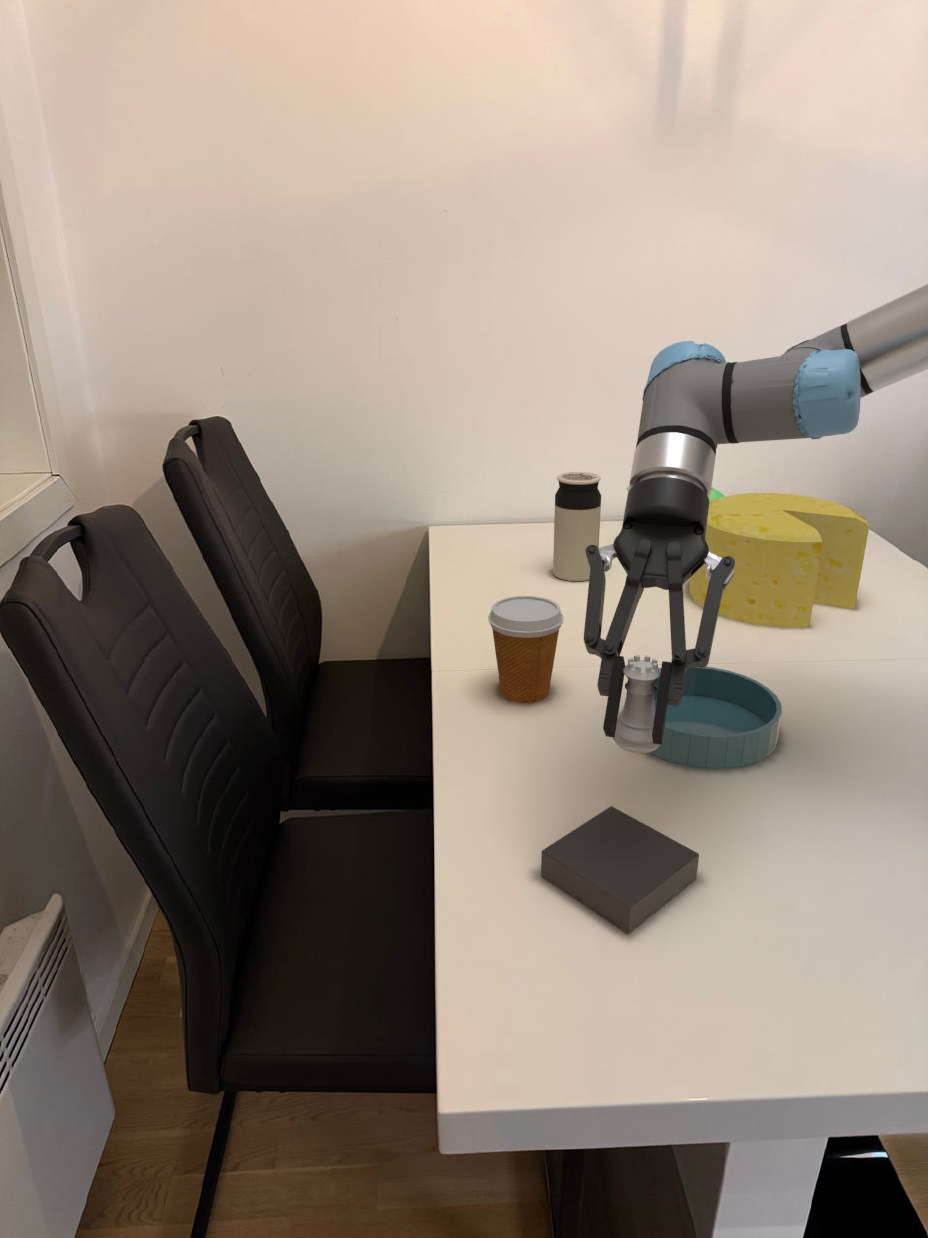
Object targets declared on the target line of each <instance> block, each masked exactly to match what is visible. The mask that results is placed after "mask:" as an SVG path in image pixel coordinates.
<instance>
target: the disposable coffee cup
mask: <svg viewBox="0 0 928 1238" xmlns="http://www.w3.org/2000/svg"><path fill="white" fill-rule="evenodd" d="M490 610H491V611H490V612H489V614H488V615H487V619H488V623H489V625H490V627H491V629H492V635H493V645H494V651H495V657H496V658H495V659H496V665H497V672H498V680H499V687H500V694H501V696H502V697H503V698H504V699H506V700H508V701H510V702H514V703H518V704H534V703H538V702H540V701H543V700H545V699H546V698H547V697H548V696H549V695H550V694H549V693H550V690H551V689H550V688H551V681H552V676H553V669H554V663H555V657H556V651H557V645H558V638H559V634H560V629H561V627H562V624H563V622H564V619H565V618H564V615H563V613H562V612H561V607H560V605H559V604H558V603H557V602H556V601H554V600H552V599H549V598H545V597H542V596H535V595H515V596H509V597H505V598H502V599H500V600H497V601H495V603H494V604H492V607H491V609H490Z"/></svg>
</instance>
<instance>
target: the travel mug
mask: <svg viewBox="0 0 928 1238" xmlns="http://www.w3.org/2000/svg"><path fill="white" fill-rule="evenodd" d="M601 478H602V477H601V476H600V475H598V474H597V473H593V472H585V471H570V472H564V473H560V474H558V475H557V477H556V480H557V481H558V489H557V491H556V492H555V494H554V520H553V521H554V522H553V555H552V556H553V558H552V559H553V561H552V575H553V576H554V577H556V578H559V579H560V580H563V581H567V582H585V581H589V577H590V568H589V564H588V560H587V556H586V548H587V547H588V546H589V545H596V546H597V547H598V548H600V530H601V510H602V494H601V492H600V490H599V483H600V481H601Z"/></svg>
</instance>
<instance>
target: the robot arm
mask: <svg viewBox="0 0 928 1238" xmlns="http://www.w3.org/2000/svg"><path fill="white" fill-rule="evenodd" d="M926 370H928V283H926V284H923V285H922V286H920V287H918V288H915V289H914V290H912V291H909V292H907V293H905V294H903V295H901V296H899V297H897V298H895V299H892V300H890V301H889V302H886V303H884V304H882V305H880V306H878V307H876V308H873V309H872V310H870V311H867V312H865V313H863V314H861V315H860V316H857V317H855V318H853V319H850V320H848V321H847V322H845V323H844V324H841V325H839V326H837V327H836V326H835V327H834V328H833V329H830V330H828V331H825V332H824V333H821V334H819V335H817V336H815V337H812V338H810V339H806V340H803V341H802V342H799V343H797V344H795V345H793V346H791V347H790V348H788V349H787V350H786V351H785V352H784V353H783V354H781V355H780V356H779V355H778V356H772V357H765V358H759V359H758V358H757V359H751V360H746V361H732V362H730V361H728V362H727V360H726V358H725V356H724V354H723V353H722V352H721V350H719V349H718V348H716V347H715V346H714V345H711V344H709V343H705V342H703V343H701V344H699V343H695V341H694V340H683V341H678V342H674V343H672V344H670V345H667V346H665V347H664V348H662V349H661V350H660V351H658V353H657V355H656V356H655V357H654V358H653V360H652V362H651V365H650V368H649V373H648V375H647V380H646V384H645V387H644V388H643V394H642V397H641V398H642V405H641V412H640V420H639V426H638V431H637V439H636V444H635V450H634V454H633V460H632V465H631V470H630V478H629V484H628V486H629V487H630V490H629V492H628V491H627V495H626V501H625V507H624V514H623V519H622V526H621V530H620V531H619V533H618V534H617V536H616V537H615V538H614V540H613V543H610V544H607V545H604V546H601V547H600V546H599V548H598V547H597V546H596V545H589V546H588V547H587V548H586V556H587V560H588V564H589V568H590V577H589V580H588V589H587V599H586V609H585V617H584V618H585V619H584V629H583V643H584V646H585V650H586V652H587V653H588V654H589V655H594V656H597V657H598V658H600V660H601V661H600V666H599V672H598V679H597V682H596V683H597V689H598V693H599V696H602V697H607V701H606V707H605V713H604V719H603V726H602V730H603V732H604V736H605V737H608V738H612V739H613V738H615V731H616V725H617V719H618V717H619V711H620V706H621V705H620V704H621V700H622V693H623V685H624V679H625V674H624V673H623V669H624V668H625V666H626V661H625V656H622V655H621V653H622V650H623V648H624V645H625V642H626V639H627V636H628V633H629V631H630V627H631V625H632V622H633V618H634V616H635V613H636V610H637V608H638V604H639V602H640V599H642V597H643V593H644V591H645V589H650V588H657V589H661V590H664V591H668V605H669V606H668V607H669V608H668V609H669V627H670V645H671V646H670V647H671V660H670V661H664V660H661V661H662V662H661V667H660V668H661V674H660V681H659V688H658V695H657V702H656V710H655V717H654V724H653V731H652V739H653V744H660V745H662V742H663V734H664V727H665V720H666V712H667V705H673V706H679V705H680V703H681V701H682V695H683V687H684V679H685V674H686V672H687V671H688V670H689V669H691V668H695V667H699V668H704V667H708V665H709V662H710V657H711V653H712V647H713V643H714V637H715V633H716V627H717V622H718V618H719V615H718V613H719V609H720V604H721V599H722V594H723V591H724V589H725V588H726V586H727V585H728V583H729V582H730V580H731V579H732V577H733V575H734V567H735V560H734V559H733V558H732V557H730V556H725V557H723V558H721V557H719V556H717V555H715V554H713V553H711V552H709V547H708V544H707V542H706V540H705V535H706V527H707V519H708V511H709V503H710V502H709V498H708V497H709V496H710V495H711V487H712V485H713V479H714V472H715V465H716V456H717V448H718V445H728V444H731V445H732V444H733V445H734V444H740V443H752V442H755V443H756V442H768V441H769V442H770V441H784V440H785V441H786V440H797V439H798V440H801V439H811V440H820V439H822V438H825V437H831V436H839V435H846V434H849V433H852V432H853V431H854V430H855V429H856V428H857V426H858V424H859V421H860V412H861V398H864V397H867V396H868V395H870V394H872V393H874V392H876V391H879V390H881V389H883V388H886V387H889V386H891V385H893V384H895V383H898V382H901V381H903V380H905V379H907V378H911V377H912V376H915V375H917V374H920V373H922V372H924V371H926ZM712 488H713V487H712ZM615 558H616V559H617V560H618V561H619V564H620V566H621V567H622V568H623V570H624V571H625V573H626V576H625V577H626V578H625V583H624V586H623V589H622V592H621V595H620V598H619V600H618V604H617V606H616V609H615V611H614V615H613V617H612V620H611V623H610V625H609V628H608V631H607V634H606V637H605V639H604V638H602V628H603V618H604V607H605V594H606V585H607V582H606V581H607V580H606V579H607V578H606V573H605V572H608V571H610V570H611V568H612V565H613V564H612V563H613V560H615ZM703 565H704V566H705V567H706V568H707V569H706V577H707V579H708V580H709V584H708V589H707V594H706V599H705V603H704V608H703V607H702V613H701V618H700V622H699V628H698V632H697V638H696V641H695V642H696V643H695V647H694V648H688V649H687V640H686V623H685V622H686V621H685V605H684V584H685V583H686V582H688V580H690V577H691V576H692V575H693V574H694V573H696V572H697V571H698V570H699V569H700V568H701V567H702V566H703Z"/></svg>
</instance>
